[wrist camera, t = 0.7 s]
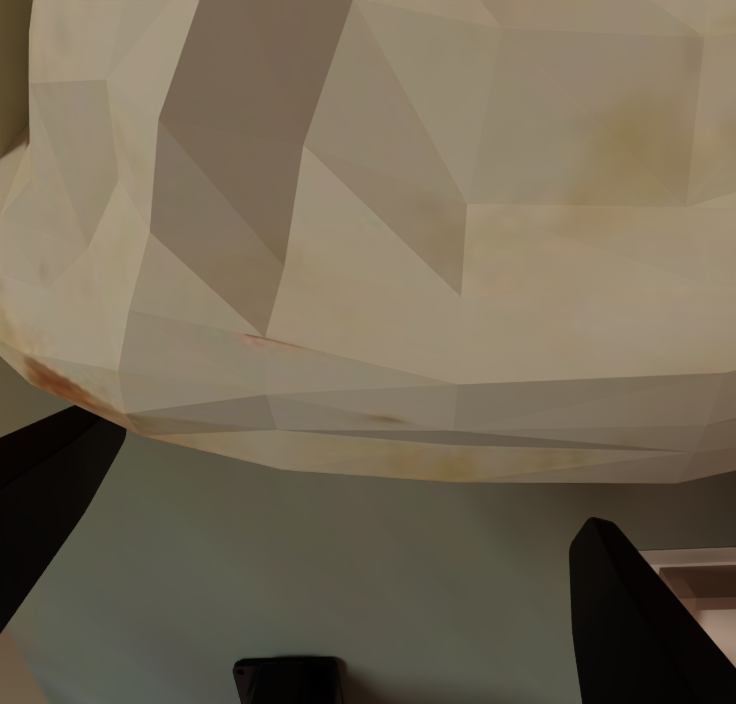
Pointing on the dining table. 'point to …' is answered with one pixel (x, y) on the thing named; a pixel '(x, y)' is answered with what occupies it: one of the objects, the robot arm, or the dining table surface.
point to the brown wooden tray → (703, 588)
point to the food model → (380, 230)
